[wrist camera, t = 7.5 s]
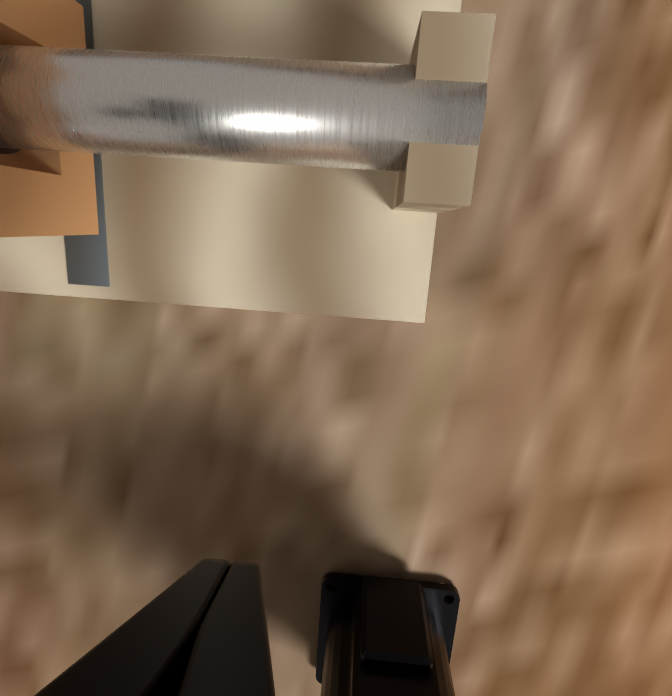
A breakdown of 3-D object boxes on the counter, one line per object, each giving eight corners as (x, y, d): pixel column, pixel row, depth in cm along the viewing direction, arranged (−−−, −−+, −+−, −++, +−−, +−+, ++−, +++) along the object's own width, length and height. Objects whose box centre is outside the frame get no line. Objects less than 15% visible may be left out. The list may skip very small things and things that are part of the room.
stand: (458, -30, 16) (527, -224, 9) (419, 315, 19) (449, 365, 12) (-98, -51, 17) (-415, -241, 10) (-47, 280, 20) (-262, 308, 13)
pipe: (468, 80, 12) (495, 41, 10) (455, 185, 13) (477, 176, 10) (-225, 46, 13) (-368, 2, 11) (-202, 146, 14) (-333, 128, 11)
